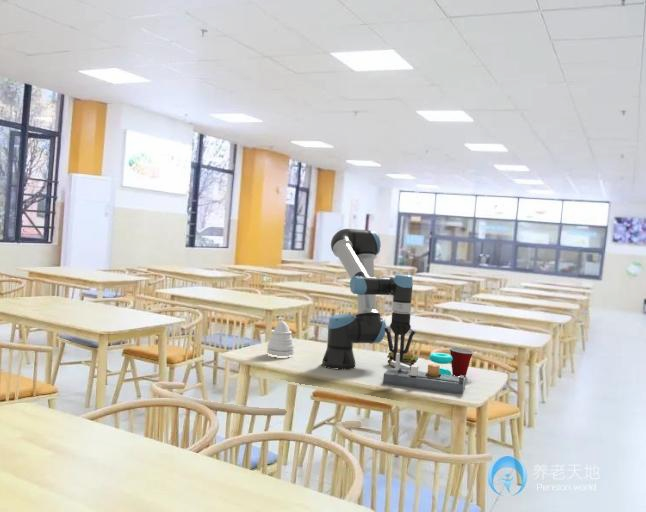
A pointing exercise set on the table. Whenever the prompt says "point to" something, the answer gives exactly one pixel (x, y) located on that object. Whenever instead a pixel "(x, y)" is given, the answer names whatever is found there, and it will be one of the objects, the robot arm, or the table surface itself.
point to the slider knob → (414, 370)
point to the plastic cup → (460, 360)
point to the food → (407, 358)
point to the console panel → (425, 381)
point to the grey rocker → (401, 365)
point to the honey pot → (281, 340)
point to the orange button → (433, 370)
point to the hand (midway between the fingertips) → (397, 369)
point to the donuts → (441, 361)
